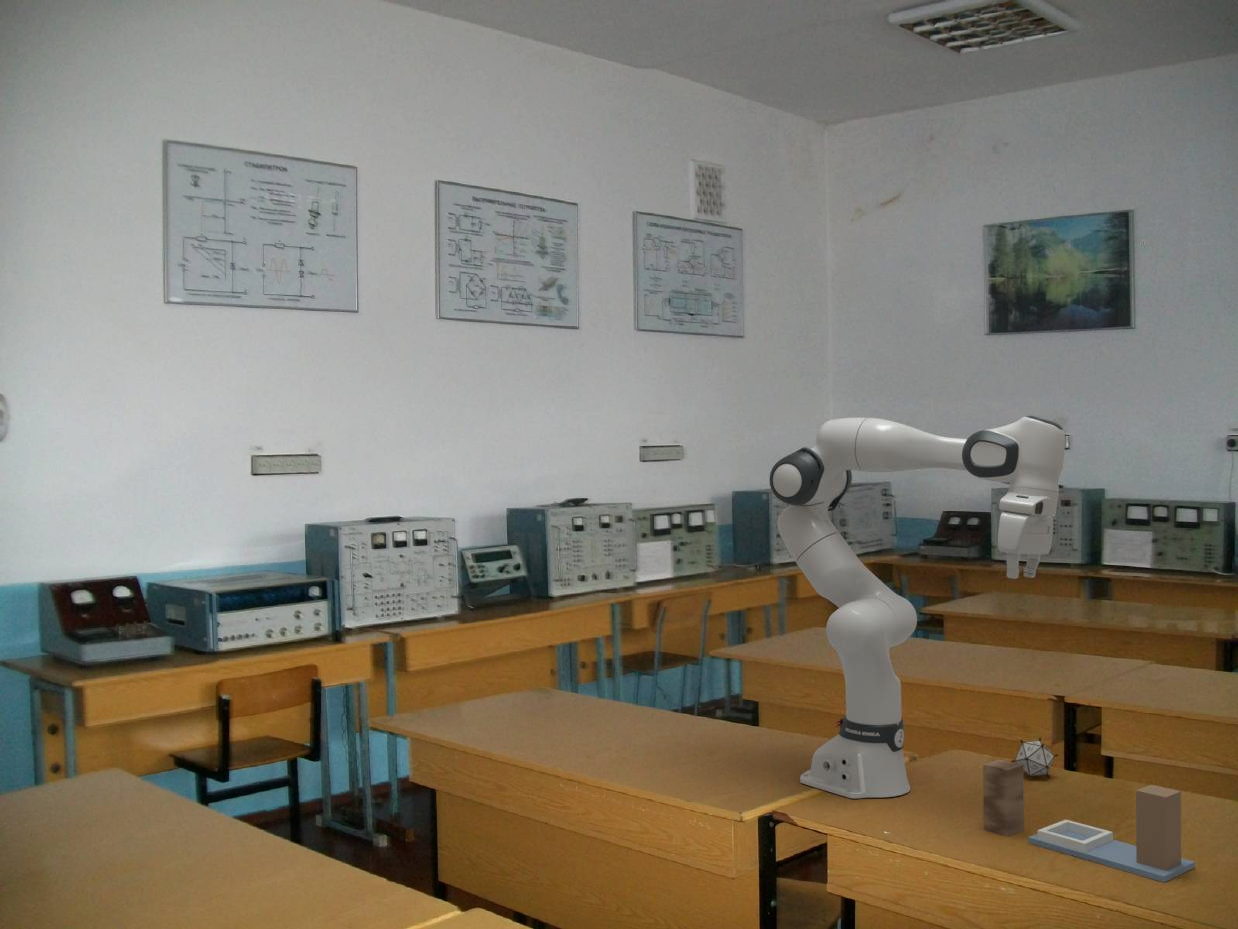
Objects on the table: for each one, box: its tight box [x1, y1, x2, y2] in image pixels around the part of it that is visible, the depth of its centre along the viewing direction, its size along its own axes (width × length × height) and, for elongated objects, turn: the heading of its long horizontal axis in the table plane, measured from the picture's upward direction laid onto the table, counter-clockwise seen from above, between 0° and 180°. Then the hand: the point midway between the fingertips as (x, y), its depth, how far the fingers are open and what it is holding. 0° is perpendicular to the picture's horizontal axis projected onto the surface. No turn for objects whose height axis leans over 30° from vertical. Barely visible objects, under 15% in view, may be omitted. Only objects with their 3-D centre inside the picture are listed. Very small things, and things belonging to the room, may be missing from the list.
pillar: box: [982, 758, 1025, 837], centre depth 217 cm, size 5×5×12 cm
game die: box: [1010, 736, 1060, 781], centre depth 250 cm, size 9×8×10 cm
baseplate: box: [1027, 784, 1196, 883], centre depth 204 cm, size 24×10×13 cm, turn 38°
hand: (1020, 577), depth 222 cm, fingers open, 8 cm apart
